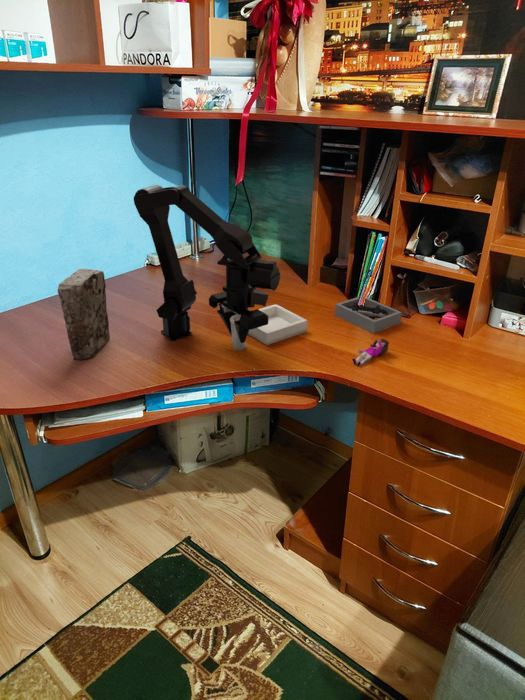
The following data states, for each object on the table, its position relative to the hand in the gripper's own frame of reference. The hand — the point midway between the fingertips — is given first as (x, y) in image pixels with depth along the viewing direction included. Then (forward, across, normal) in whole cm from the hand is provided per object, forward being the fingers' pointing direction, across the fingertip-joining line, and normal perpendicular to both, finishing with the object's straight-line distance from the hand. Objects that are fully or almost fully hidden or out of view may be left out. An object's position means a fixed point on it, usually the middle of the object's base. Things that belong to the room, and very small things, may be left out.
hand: (237, 339), depth 138 cm
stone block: (+3, +22, +31) cm, 38 cm away
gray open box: (+2, -7, -41) cm, 42 cm away
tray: (+2, +4, -14) cm, 15 cm away
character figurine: (+3, -24, -24) cm, 34 cm away
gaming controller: (+2, -7, -41) cm, 41 cm away
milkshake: (+3, 0, 0) cm, 3 cm away
